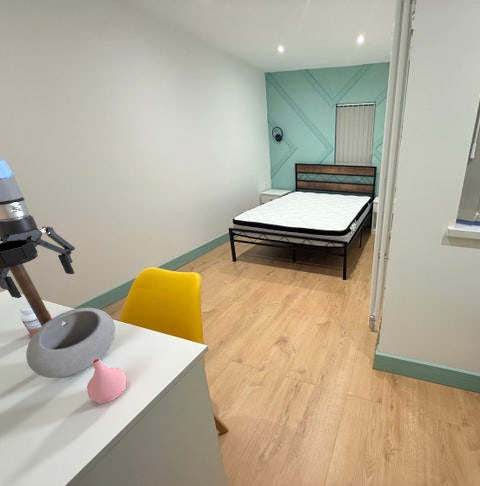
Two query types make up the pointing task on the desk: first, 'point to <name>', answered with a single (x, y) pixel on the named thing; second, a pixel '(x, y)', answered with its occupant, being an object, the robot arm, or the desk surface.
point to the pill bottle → (30, 319)
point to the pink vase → (105, 383)
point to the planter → (70, 342)
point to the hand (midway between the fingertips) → (45, 284)
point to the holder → (16, 252)
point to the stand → (30, 293)
